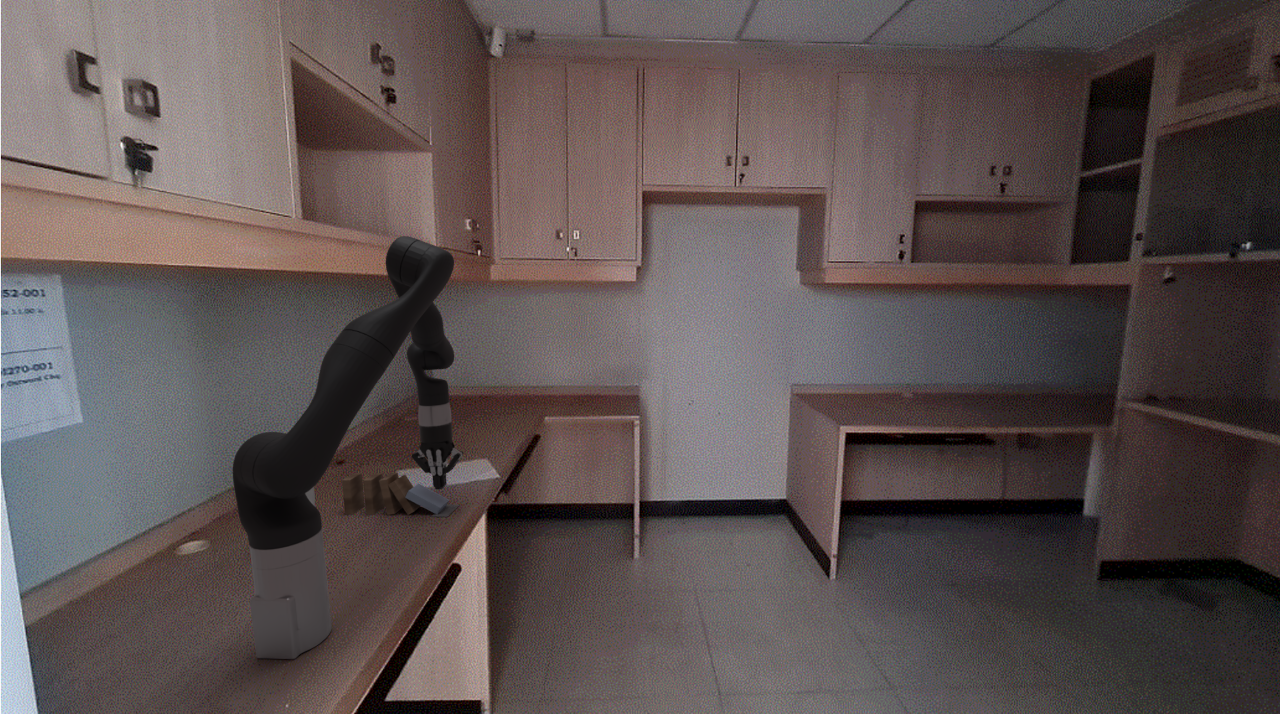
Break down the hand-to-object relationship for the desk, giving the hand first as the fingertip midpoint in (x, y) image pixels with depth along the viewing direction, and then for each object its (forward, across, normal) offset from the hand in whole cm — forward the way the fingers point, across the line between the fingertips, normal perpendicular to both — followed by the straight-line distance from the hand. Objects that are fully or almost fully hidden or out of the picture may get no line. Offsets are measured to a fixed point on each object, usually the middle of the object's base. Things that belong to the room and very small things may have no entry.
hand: (440, 488), depth 126 cm
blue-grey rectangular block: (+5, -1, 0) cm, 5 cm away
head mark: (+6, -1, 0) cm, 6 cm away
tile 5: (+6, +23, 0) cm, 24 cm away
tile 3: (+6, +12, 0) cm, 13 cm away
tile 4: (+6, +17, 0) cm, 18 cm away
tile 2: (+6, +7, 0) cm, 9 cm away
